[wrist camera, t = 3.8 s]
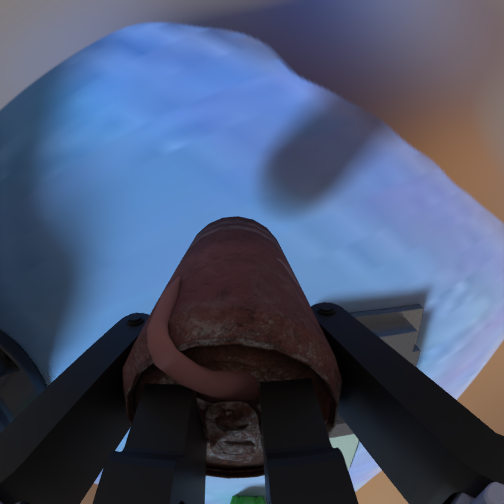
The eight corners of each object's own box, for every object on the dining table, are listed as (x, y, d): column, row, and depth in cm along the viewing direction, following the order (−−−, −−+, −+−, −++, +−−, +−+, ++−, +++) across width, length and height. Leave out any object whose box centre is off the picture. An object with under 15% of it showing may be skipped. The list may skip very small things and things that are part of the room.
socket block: (271, 428, 32) (273, 449, 29) (270, 319, 28) (273, 338, 24) (391, 410, 32) (400, 427, 29) (419, 304, 28) (435, 319, 25)
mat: (271, 479, 36) (271, 482, 36) (271, 437, 33) (272, 440, 32) (346, 469, 36) (347, 472, 36) (361, 425, 33) (362, 428, 32)
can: (237, 192, 19) (233, 257, 5) (299, 265, 20) (387, 423, 7) (168, 253, 20) (64, 398, 6) (230, 318, 21) (225, 500, 8)
